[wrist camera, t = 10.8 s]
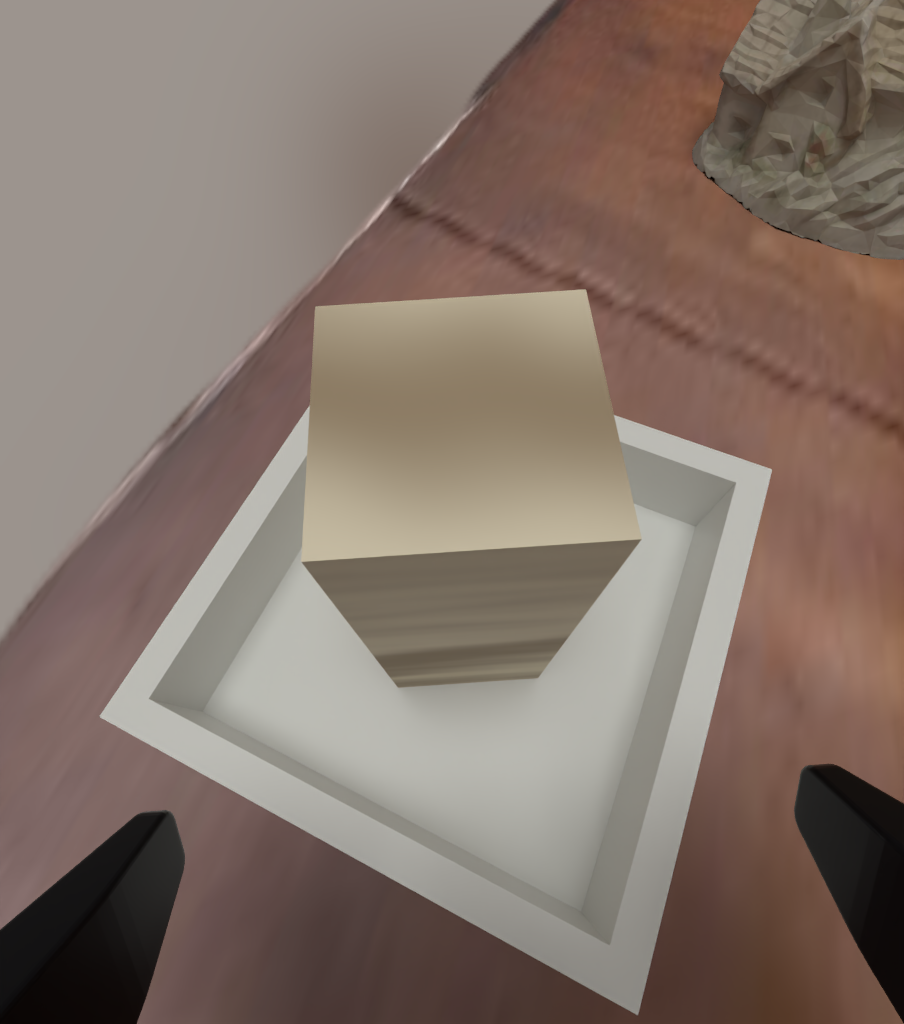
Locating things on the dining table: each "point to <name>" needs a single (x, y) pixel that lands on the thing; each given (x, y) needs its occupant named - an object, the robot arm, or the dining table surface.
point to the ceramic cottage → (816, 122)
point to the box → (473, 717)
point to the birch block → (463, 480)
